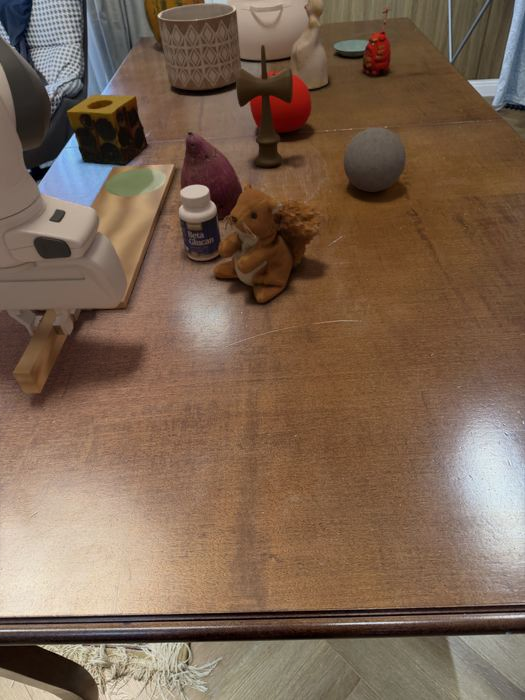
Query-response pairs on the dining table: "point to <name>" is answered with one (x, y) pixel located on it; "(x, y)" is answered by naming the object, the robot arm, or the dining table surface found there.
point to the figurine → (311, 51)
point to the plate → (135, 174)
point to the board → (131, 220)
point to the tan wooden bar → (41, 353)
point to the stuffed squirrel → (266, 241)
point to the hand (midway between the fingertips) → (52, 331)
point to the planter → (200, 45)
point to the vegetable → (210, 173)
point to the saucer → (351, 47)
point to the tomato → (286, 107)
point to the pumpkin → (157, 3)
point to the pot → (269, 27)
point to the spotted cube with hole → (108, 128)
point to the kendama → (265, 106)
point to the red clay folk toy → (377, 52)
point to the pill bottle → (199, 223)
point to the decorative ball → (374, 159)
